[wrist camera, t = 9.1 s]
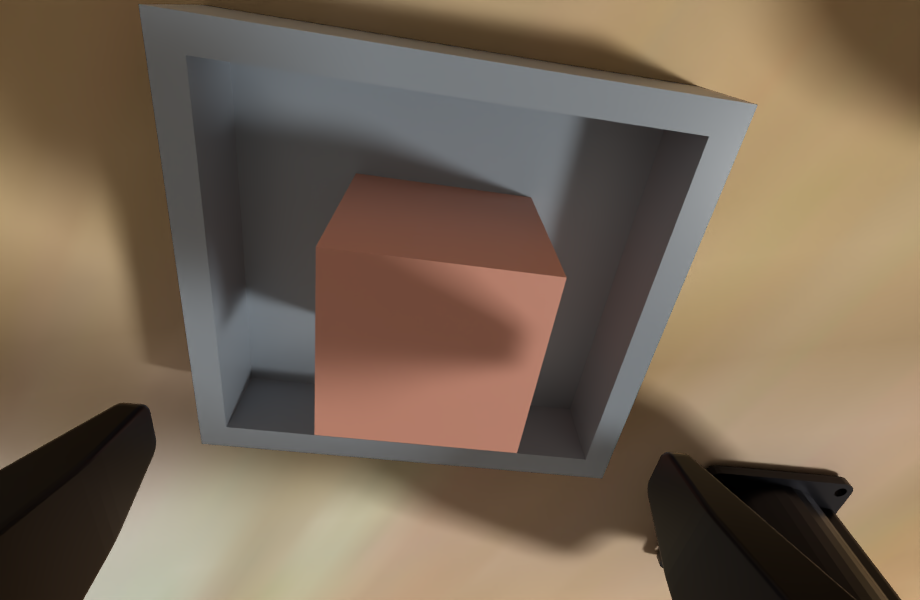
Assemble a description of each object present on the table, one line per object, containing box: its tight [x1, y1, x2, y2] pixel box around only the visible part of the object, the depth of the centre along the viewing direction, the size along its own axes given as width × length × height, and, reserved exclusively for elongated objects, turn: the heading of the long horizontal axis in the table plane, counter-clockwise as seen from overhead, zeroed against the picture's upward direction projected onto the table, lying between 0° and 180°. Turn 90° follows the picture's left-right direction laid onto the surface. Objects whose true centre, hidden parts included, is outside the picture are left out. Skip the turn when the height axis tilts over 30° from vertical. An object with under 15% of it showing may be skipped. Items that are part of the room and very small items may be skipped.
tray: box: [139, 4, 757, 478], centre depth 15 cm, size 13×12×3 cm
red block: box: [314, 173, 567, 453], centre depth 13 cm, size 5×5×5 cm
